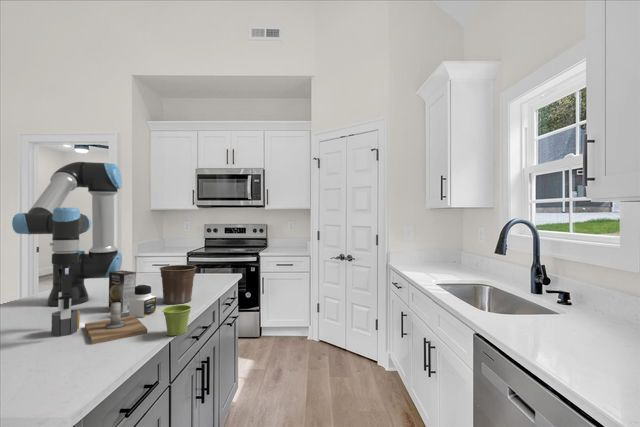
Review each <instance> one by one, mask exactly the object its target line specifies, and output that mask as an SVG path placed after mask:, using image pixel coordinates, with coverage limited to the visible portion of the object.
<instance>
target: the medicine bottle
mask: <svg viewBox="0 0 640 427" xmlns="http://www.w3.org/2000/svg"><path fill="white" fill-rule="evenodd" d="M156 313H157V296H156V295H152V286H151V285H150V284H138V285H136V287H135V297H134V298H130V299H129V310H128V316H134V315H135V316H136V318H146V317H149V316H151V315H154V314H156Z"/></svg>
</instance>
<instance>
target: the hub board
mask: <svg viewBox="0 0 640 427" xmlns="http://www.w3.org/2000/svg"><path fill="white" fill-rule="evenodd" d="M121 313H122V312H121V303H119V302H117V303H112V304H111V310H110V318H109V319H104V320H99V321H93V322H85V323H84V329H85V331H86V333H87V336H88V338H89V341H90V343H91V345H96V344H100V343H106V342H111V341H116V340H120V339H125V338H130V337H136V336H141V335H146V334H148V328H147V327H146V325H144V324H143V323H142V322H141V321H140V320H139V318H138V317H136V316H135V315H134V316H129V315H127V316H124V317H121V316H122V314H121Z"/></svg>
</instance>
